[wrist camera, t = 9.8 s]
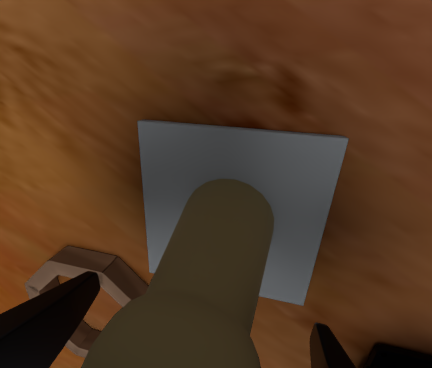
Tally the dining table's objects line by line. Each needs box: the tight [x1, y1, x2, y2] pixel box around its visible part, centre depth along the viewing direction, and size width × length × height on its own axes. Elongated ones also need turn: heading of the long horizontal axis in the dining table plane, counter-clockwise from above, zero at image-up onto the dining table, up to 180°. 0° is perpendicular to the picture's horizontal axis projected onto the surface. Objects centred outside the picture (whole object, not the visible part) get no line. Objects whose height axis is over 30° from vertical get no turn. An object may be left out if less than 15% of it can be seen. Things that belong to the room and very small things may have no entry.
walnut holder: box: [25, 246, 149, 358], centre depth 22 cm, size 12×12×2 cm
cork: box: [81, 179, 274, 368], centre depth 10 cm, size 6×6×11 cm
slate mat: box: [137, 120, 349, 306], centre depth 15 cm, size 12×12×1 cm
